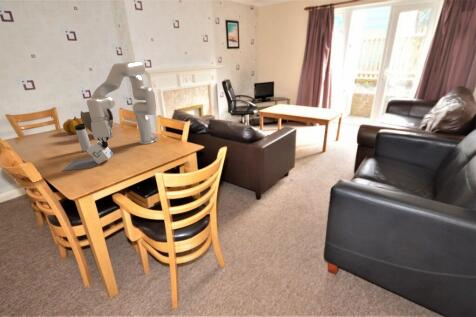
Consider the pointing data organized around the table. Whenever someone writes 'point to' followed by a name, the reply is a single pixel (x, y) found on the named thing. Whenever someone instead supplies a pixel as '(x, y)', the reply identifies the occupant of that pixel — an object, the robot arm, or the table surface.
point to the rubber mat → (81, 164)
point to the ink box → (99, 152)
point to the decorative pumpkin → (72, 125)
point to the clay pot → (87, 120)
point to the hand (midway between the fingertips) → (105, 147)
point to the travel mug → (82, 137)
